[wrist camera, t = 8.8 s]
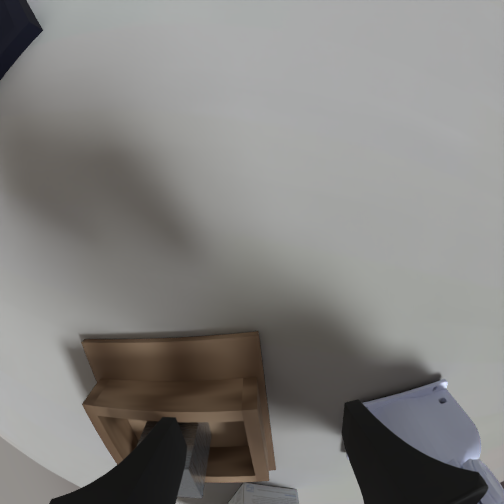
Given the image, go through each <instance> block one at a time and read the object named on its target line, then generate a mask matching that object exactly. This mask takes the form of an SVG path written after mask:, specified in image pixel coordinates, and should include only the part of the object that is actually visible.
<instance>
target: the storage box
mask: <svg viewBox="0 0 504 504" xmlns="http://www.w3.org/2000/svg"><path fill="white" fill-rule="evenodd" d="M42 31H43V29H42V28H41V26H40V24H39V22H38V21H37V19H36V17H35V15H34V13H33V12H32V10H31V8H30V6H29V5H28V3H27V1H26V0H0V80H1V79H2V77H3V76H4V75H5V73H6V72H7V71H8V70H9V68H10V67H11V66H12V65H13V63H14V62H15V61H16V60H17V59H18V57H19V56H20V55H21V54H22V53H23V52H24V50H25V49H26V48H27V47H28V46H29V45H30V44H31V43H32V41H33V40H34V39H35V38H36V37H37V36H38V35H39V34H40V33H41V32H42Z"/></svg>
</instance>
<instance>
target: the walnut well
mask: <svg viewBox="0 0 504 504" xmlns="http://www.w3.org/2000/svg"><path fill="white" fill-rule="evenodd" d="M81 343H82V345H83V348H84V351H85V354H86V356H87V359H88V361H89V364H90V366H91V369H92V371H93V374H94V376H95V379H96V381H97V384H96V385H95V387H94V388H93V389H92V391H91V392H90V394H89V395H88V396H87V398H86V399H85V401H84V402H83V404H82V405H83V407H84V409H85V411H86V413H87V415H88V417H89V418H90V420H91V422H92V424H93V426H94V427H95V429H96V431H97V433H98V434H99V436H100V438H101V439H102V441H103V443H104V444H105V446H106V448H107V449H108V451H109V452H110V454H111V456H112V457H113V459H114V460H115V462H116V463H117V465H118V464H119V463H120V462H121V461H122V460H124V459H125V458H126V457H127V456H128V455H129V454H130V453H131V452H132V451H133V450H134V449H135V448H136V447H137V444H138V442H139V439H140V437H141V434H142V432H143V429H144V427H145V425H146V422H147V421H160V419H161V418H162V417H176V419H177V422H208V423H209V426H210V430H211V433H212V436H211V443H210V449H209V456H208V463H207V469H206V476H205V482H211V483H234V482H258V481H269V471H270V470H276V466H275V458H274V450H273V443H272V435H271V427H270V419H269V411H268V403H267V395H266V388H265V380H264V372H263V364H262V356H261V348H260V340H259V332H258V331H256V332H246V333H236V334H224V335H211V336H196V337H179V338H155V339H84V340H83V341H82V342H81Z"/></svg>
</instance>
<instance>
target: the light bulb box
mask: <svg viewBox="0 0 504 504" xmlns="http://www.w3.org/2000/svg"><path fill="white" fill-rule="evenodd" d="M228 504H299V500H298V492H297V489H288V488H280V487H272V486H265V485H258V484H252V483H247V482H244V483H243V484H242V486H241V487H240V488H239V490H238V491H237V492H236V493H235V495H234V496H233V497H232V499H231V500H230V501H229V502H228Z"/></svg>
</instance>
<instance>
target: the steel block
mask: <svg viewBox="0 0 504 504" xmlns="http://www.w3.org/2000/svg"><path fill="white" fill-rule="evenodd" d="M158 422H159V421H147V422H146V425H145V427H144V429H143V432H142V434H141V437H140V439H139V442H138V444H137V446H138V445H139V444H140V442H141V441H142V440H143V439H144V438H145V437H146V436H147V435H148V433H149V432H150V431H151V430H152V429H153V428H154V426H155V425H156V424H157V423H158ZM178 425H179V427H180V430H181V432H182V435H183V437H184V440H185V442H186V444H187V453H186V462H185V468H184V472H183V476H182V480H181V484H180V488H179V491H178V495H177V497H189V498H202V496H203V489H204V483H205V476H206V469H207V463H208V456H209V449H210V443H211V436H212V433H211V430H210V426H209V423H208V422H178Z"/></svg>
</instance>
